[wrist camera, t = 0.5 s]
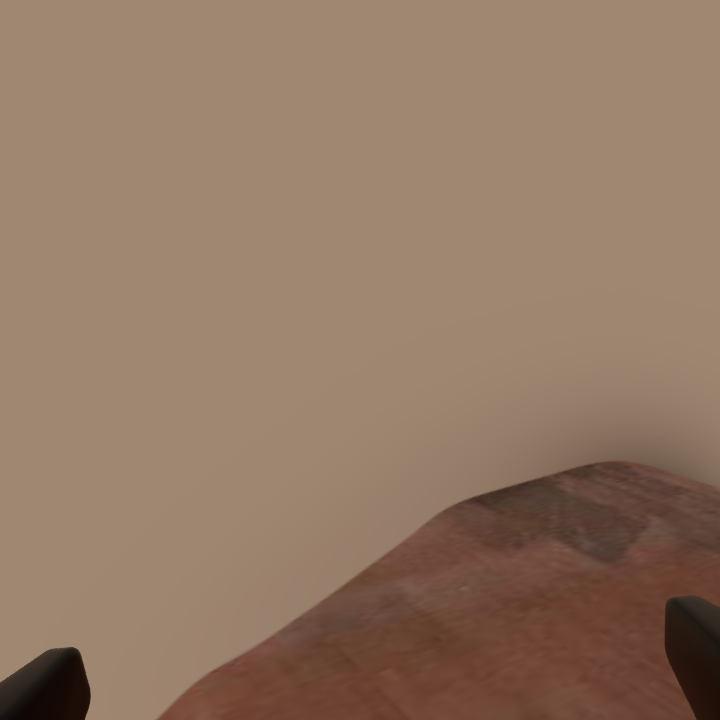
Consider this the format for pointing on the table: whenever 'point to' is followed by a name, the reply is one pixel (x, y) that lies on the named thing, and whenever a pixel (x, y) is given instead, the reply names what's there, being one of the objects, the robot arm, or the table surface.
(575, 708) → the table surface
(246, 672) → the table surface
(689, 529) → the table surface
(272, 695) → the table surface
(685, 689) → the robot arm
